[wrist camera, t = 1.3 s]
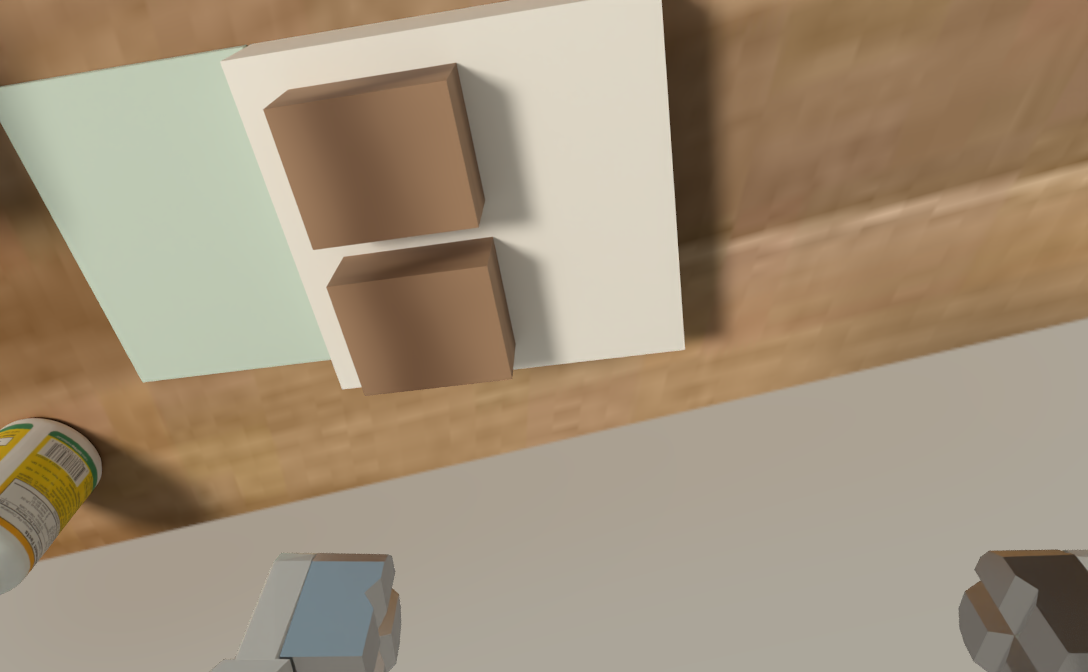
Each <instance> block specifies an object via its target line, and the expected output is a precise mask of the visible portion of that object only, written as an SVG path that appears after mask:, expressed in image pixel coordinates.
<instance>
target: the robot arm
mask: <svg viewBox="0 0 1088 672" xmlns="http://www.w3.org/2000/svg"><path fill="white" fill-rule="evenodd" d="M975 571H976V573H977V575H978V576H979V578H980V580H981V581H979V582H978V583H976V584H975V585H974V586H972V587H971V588H969V589H968V590H966V591H965V592H964V595H963V598H962V600H961V603H960V606H959V627H960V631H961V634H962V637H963V641H964V643H965V646H966V647H967V649H968V651H969V653H970V655H971V657H972V659H973V661H974V662H975V663H977V664H978V665H979V666H981V667H982V668H983V669H984V670H986V671H987V672H1088V550H1063V551H1060V550H1011V551H1010V550H1006V551H988V552H987V553H985V554H984V555H983V556H981V557H980V559H979V561H978V563H977V565H976V567H975ZM394 576H395V569H394V564H393V559H392V556H391V555H384V554H336V553H281V554H280V555H279V556H278V557H277V559H276V560H275V561H274V562H273V564H272V566H271V569H270V571H269V574H268V576H267V579H266V582H265V584H264V586H263V589H262V591H261V594H260V597H259V599H258V601H257V604H256V606H255V609H254V611H253V614H252V616H251V619H250V621H249V624H248V626H247V629H246V631H245V634H244V636H243V639H242V641H241V644H240V646H239V649H238V652H237V654H236V656H235V659H223V660H222V661H221V662H219V663H218V664H217V665H216V666H215V667H214V668H213V669H211V671H209V672H389V671H390V669H391V668H392V667H393V666H394V665H395V664H396V661H397V656H398V650H399V644H400V631H401V606H400V599H399V594H398V593H397V592H396V591H395V590H394V589H392V585H393V580H394Z"/></svg>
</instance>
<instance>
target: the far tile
mask: <svg viewBox="0 0 1088 672" xmlns="http://www.w3.org/2000/svg"><path fill="white" fill-rule="evenodd" d="M326 288H327V291H328V294H329V296H330V299H331V302H332V305H333V308H334V310H335V313H336V316H337V319H338V322H339V325H340V327H341V330H342V333H343V336H344V339H345V341H346V344H347V347H348V350H349V353H350V356H351V358H352V361H353V364H354V367H355V370H356V372H357V375H358V378H359V381H360V384H361V386H362V389H363V392H364V395H365V396H369V395H378V394H386V393H395V392H404V391H413V390H421V389H430V388H439V387H448V386H456V385H465V384H474V383H482V382H491V381H500V380H509V379H512V376H513V366H514V356H515V347H516V343H515V339H514V334H513V329H512V324H511V320H510V315H509V310H508V305H507V301H506V296H505V291H504V286H503V282H502V277H501V272H500V267H499V263H498V258H497V253H496V249H495V244H494V239H493V237H486V238H479V239H471V240H464V241H457V242H449V243H442V244H434V245H427V246H420V247H412V248H405V249H397V250H390V251H383V252H375V253H368V254H360V255H353V256H346V257H343V259H342V260H341V262H340V264H339V266H338V267H337V269H336V271H335V273H334V274H333V276H332V278H331V280H330V281H329V283H328V285H327V287H326Z"/></svg>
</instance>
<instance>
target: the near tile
mask: <svg viewBox="0 0 1088 672" xmlns="http://www.w3.org/2000/svg"><path fill="white" fill-rule="evenodd" d="M263 111H264V114H265V116H266V119H267V122H268V125H269V128H270V130H271V133H272V136H273V139H274V142H275V144H276V147H277V150H278V153H279V156H280V159H281V161H282V164H283V167H284V170H285V173H286V175H287V178H288V181H289V184H290V187H291V189H292V192H293V195H294V198H295V201H296V204H297V206H298V209H299V212H300V215H301V218H302V220H303V223H304V226H305V229H306V232H307V235H308V237H309V240H310V243H311V246H312V249H313V250H318V249H325V248H333V247H340V246H347V245H355V244H362V243H369V242H377V241H384V240H391V239H399V238H406V237H413V236H420V235H428V234H435V233H442V232H450V231H457V230H464V229H472V228H479V224H480V220H481V216H482V212H483V208H484V204H485V196H484V192H483V187H482V182H481V177H480V173H479V168H478V163H477V159H476V154H475V149H474V144H473V140H472V135H471V130H470V125H469V121H468V116H467V111H466V106H465V102H464V97H463V92H462V87H461V83H460V78H459V73H458V68H457V64H456V63H451V64H444V65H438V66H432V67H426V68H420V69H413V70H407V71H401V72H395V73H388V74H382V75H376V76H370V77H364V78H357V79H351V80H345V81H339V82H332V83H326V84H320V85H314V86H308V87H301V88H295V89H289V90H287V91H286V92H284V93H283V94H282V95H281V96H279V97H278V98H277V99H276V100H274V101H273V102H272V103H270V104H269V105H268V106H267V107H265V108H264V109H263Z"/></svg>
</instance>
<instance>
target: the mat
mask: <svg viewBox="0 0 1088 672" xmlns="http://www.w3.org/2000/svg"><path fill="white" fill-rule="evenodd" d="M245 47H247V45H243V46H237V47H231V48H225V49H219V50H213V51H207V52H201V53H196V54H190V55H184V56H178V57H172V58H166V59H160V60H154V61H148V62H142V63H136V64H130V65H124V66H118V67H112V68H107V69H101V70H95V71H89V72H83V73H77V74H71V75H65V76H59V77H53V78H47V79H41V80H35V81H29V82H23V83H17V84H12V85H6V86H0V122H1V124H2V126H3V128H4V130H5V132H6V133H7V135H8V137H9V139H10V141H11V143H12V144H13V146H14V148H15V150H16V152H17V154H18V155H19V157H20V159H21V161H22V163H23V164H24V166H25V168H26V170H27V172H28V174H29V175H30V177H31V179H32V181H33V183H34V185H35V186H36V188H37V190H38V192H39V194H40V196H41V197H42V199H43V201H44V203H45V205H46V207H47V208H48V210H49V212H50V214H51V216H52V218H53V219H54V221H55V223H56V225H57V227H58V228H59V230H60V232H61V234H62V236H63V238H64V239H65V241H66V243H67V245H68V247H69V249H70V250H71V252H72V254H73V256H74V258H75V260H76V261H77V263H78V265H79V267H80V269H81V271H82V272H83V274H84V276H85V278H86V280H87V282H88V283H89V285H90V287H91V289H92V291H93V292H94V294H95V296H96V298H97V300H98V302H99V303H100V305H101V307H102V309H103V311H104V313H105V314H106V316H107V318H108V320H109V322H110V324H111V325H112V327H113V329H114V331H115V333H116V335H117V336H118V338H119V340H120V342H121V344H122V345H123V347H124V349H125V351H126V353H127V355H128V356H129V358H130V360H131V362H132V364H133V366H134V367H135V369H136V371H137V373H138V375H139V377H140V378H141V380H142V382H149V381H157V380H165V379H174V378H182V377H190V376H199V375H207V374H215V373H224V372H232V371H240V370H249V369H257V368H265V367H273V366H282V365H290V364H298V363H307V362H315V361H323V360H331V358H330V355H329V353H328V350H327V347H326V345H325V342H324V339H323V337H322V334H321V331H320V328H319V326H318V323H317V320H316V318H315V315H314V312H313V310H312V307H311V304H310V302H309V299H308V296H307V294H306V291H305V288H304V286H303V283H302V280H301V278H300V275H299V272H298V270H297V267H296V264H295V262H294V259H293V256H292V253H291V251H290V248H289V245H288V243H287V240H286V237H285V235H284V232H283V229H282V227H281V224H280V221H279V219H278V216H277V213H276V211H275V208H274V205H273V203H272V200H271V197H270V195H269V192H268V189H267V187H266V184H265V181H264V178H263V176H262V173H261V170H260V168H259V165H258V162H257V160H256V157H255V154H254V152H253V149H252V146H251V144H250V141H249V138H248V136H247V133H246V130H245V128H244V125H243V122H242V120H241V117H240V114H239V112H238V109H237V106H236V103H235V101H234V98H233V95H232V93H231V90H230V87H229V85H228V82H227V79H226V77H225V74H224V71H223V69H222V66H221V63H220V61H222V60H224V59H225V58H227V57H229V56H231V55H233V54H234V53H236V52H238V51H240V50H242V49H243V48H245Z"/></svg>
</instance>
